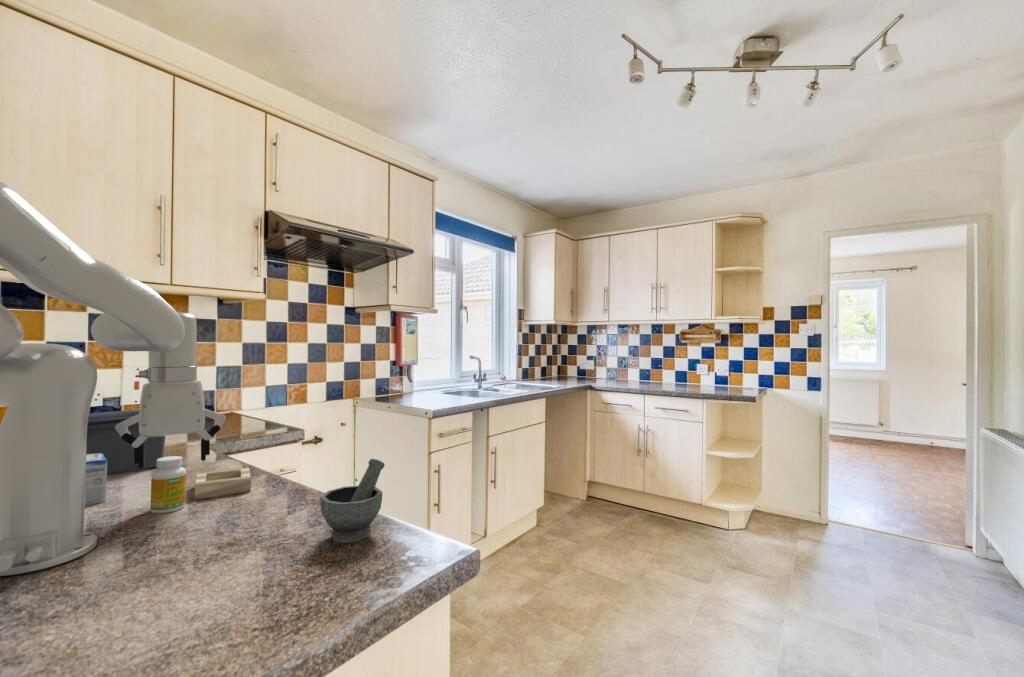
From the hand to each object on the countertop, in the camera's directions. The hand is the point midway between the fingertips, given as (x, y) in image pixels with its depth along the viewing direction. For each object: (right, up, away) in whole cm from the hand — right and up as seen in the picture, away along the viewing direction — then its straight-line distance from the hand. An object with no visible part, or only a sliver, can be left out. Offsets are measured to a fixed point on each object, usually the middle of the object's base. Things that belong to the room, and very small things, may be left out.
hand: (173, 462), depth 88 cm
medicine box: (-20, -9, +3) cm, 22 cm away
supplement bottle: (0, -9, -1) cm, 9 cm away
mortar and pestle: (+39, -9, -11) cm, 42 cm away
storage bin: (-33, -9, +25) cm, 43 cm away
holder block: (+3, -9, +11) cm, 15 cm away
